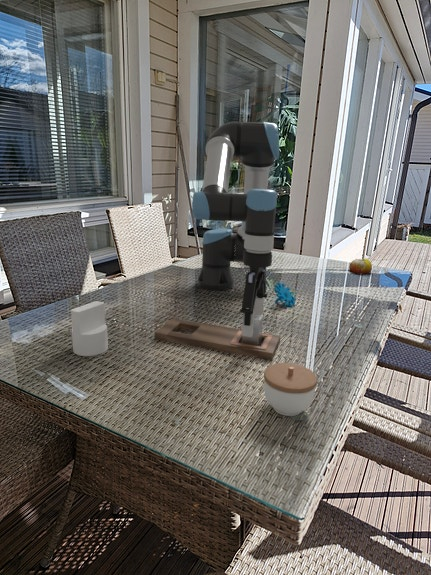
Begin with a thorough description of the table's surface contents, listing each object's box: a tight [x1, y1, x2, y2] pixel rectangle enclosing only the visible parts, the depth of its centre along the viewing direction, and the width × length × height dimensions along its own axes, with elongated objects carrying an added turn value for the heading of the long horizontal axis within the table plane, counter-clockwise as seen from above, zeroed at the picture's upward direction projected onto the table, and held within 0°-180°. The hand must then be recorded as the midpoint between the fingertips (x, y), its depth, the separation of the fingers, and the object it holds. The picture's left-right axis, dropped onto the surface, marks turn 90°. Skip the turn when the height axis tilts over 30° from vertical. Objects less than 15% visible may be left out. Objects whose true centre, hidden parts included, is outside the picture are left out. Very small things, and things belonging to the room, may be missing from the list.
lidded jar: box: [263, 362, 318, 417], centre depth 83 cm, size 11×11×9 cm
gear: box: [274, 282, 297, 308], centre depth 148 cm, size 11×6×10 cm
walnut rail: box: [154, 317, 281, 361], centre depth 115 cm, size 12×34×2 cm, turn 71°
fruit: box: [348, 258, 373, 275], centre depth 198 cm, size 11×10×8 cm
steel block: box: [242, 314, 264, 347], centre depth 111 cm, size 4×4×9 cm
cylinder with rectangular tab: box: [70, 300, 109, 357], centre depth 106 cm, size 9×9×12 cm
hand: (252, 327), depth 110 cm, fingers open, 12 cm apart
